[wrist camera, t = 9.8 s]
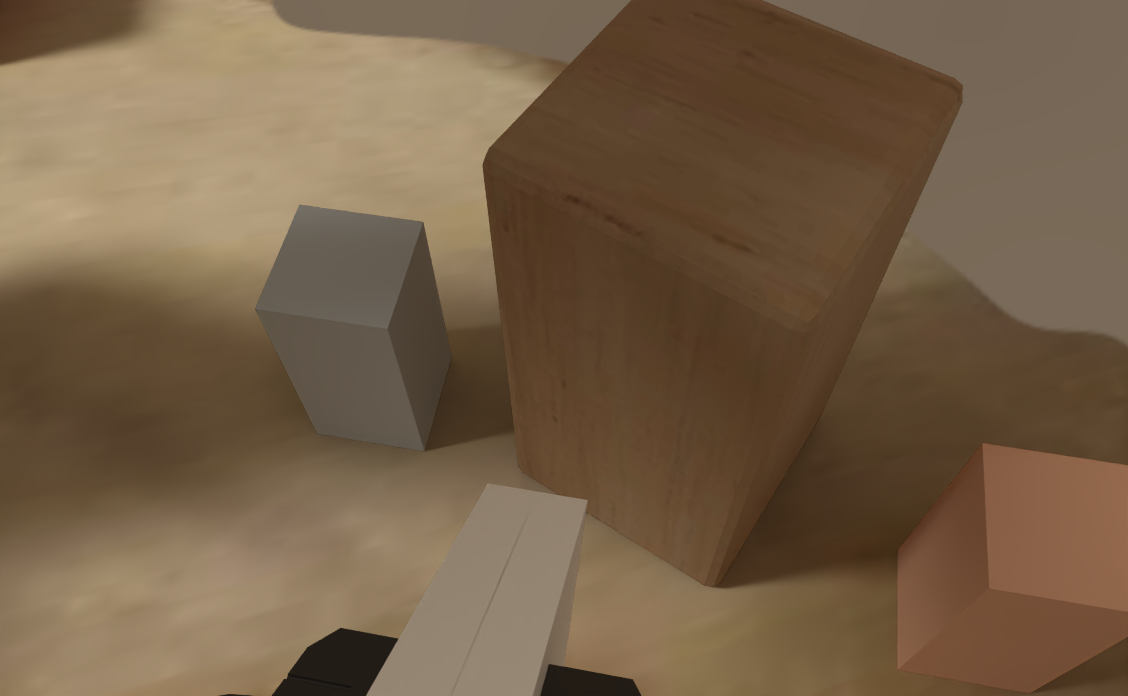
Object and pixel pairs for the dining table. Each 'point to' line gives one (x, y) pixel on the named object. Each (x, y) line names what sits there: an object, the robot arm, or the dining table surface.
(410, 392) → the slate post
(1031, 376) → the dining table surface
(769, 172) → the wooden block
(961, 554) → the terracotta post
